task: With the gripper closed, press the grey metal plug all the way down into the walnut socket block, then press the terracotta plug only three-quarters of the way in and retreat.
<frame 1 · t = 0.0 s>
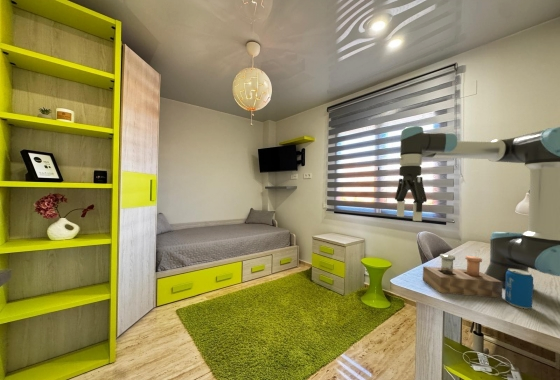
hand: (408, 218, 86), 28 cm above the table, fingers open, 13 cm apart
beverage can: (518, 305, 76), on the table
grey plug: (447, 264, 89), point 9 cm above the table, slide at 0.0 cm
socket block: (459, 288, 88), on the table
terracotta plug: (473, 266, 88), point 9 cm above the table, slide at 0.0 cm
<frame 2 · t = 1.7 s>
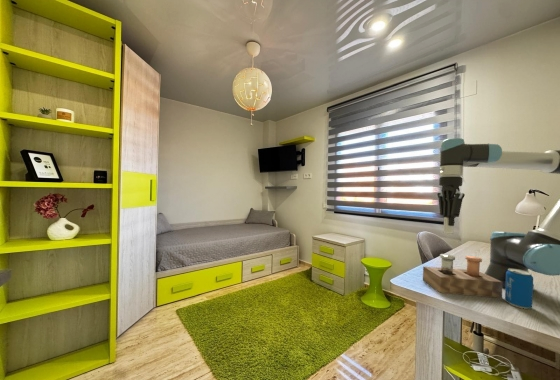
hand: (448, 233, 89), 22 cm above the table, fingers closed
nothing on the table moved.
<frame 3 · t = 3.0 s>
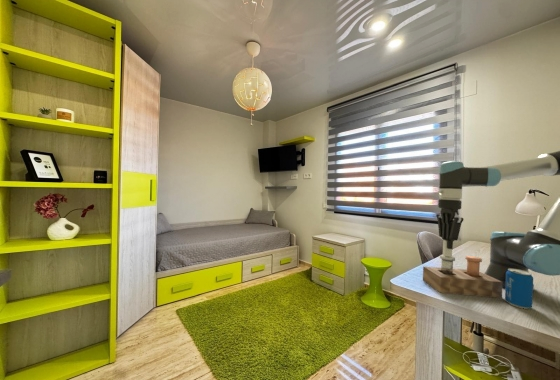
hand: (447, 255, 89), 13 cm above the table, fingers closed
grey plug: (447, 265, 89), point 9 cm above the table, slide at 0.3 cm, touching gripper
everything else where it was.
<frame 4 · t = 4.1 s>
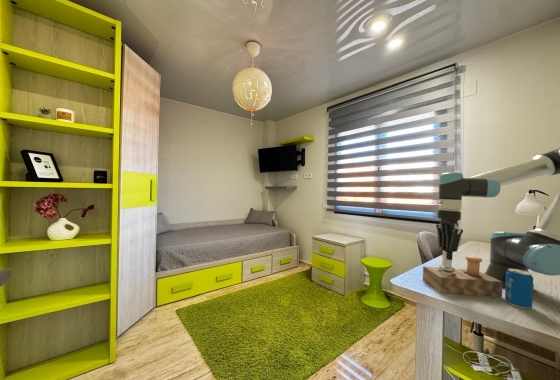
hand: (446, 266, 89), 8 cm above the table, fingers closed
grey plug: (446, 276, 89), point 5 cm above the table, slide at 4.8 cm, touching gripper
everything else where it was.
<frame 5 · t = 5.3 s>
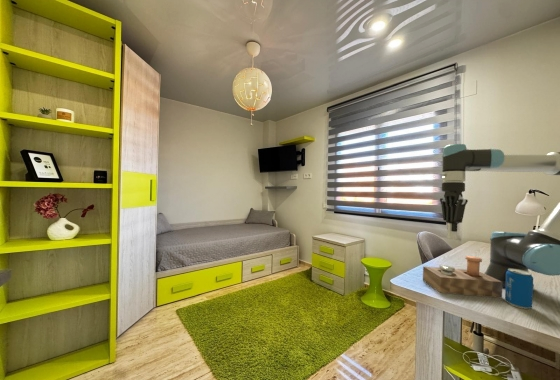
hand: (451, 238, 89), 20 cm above the table, fingers closed
grey plug: (446, 276, 89), point 5 cm above the table, slide at 4.8 cm
everything else where it was.
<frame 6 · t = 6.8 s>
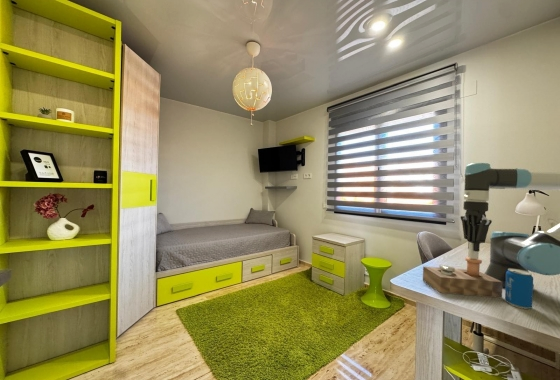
hand: (473, 258, 88), 13 cm above the table, fingers closed
terracotta plug: (473, 267, 88), point 9 cm above the table, slide at 0.6 cm, touching gripper
everything else where it was.
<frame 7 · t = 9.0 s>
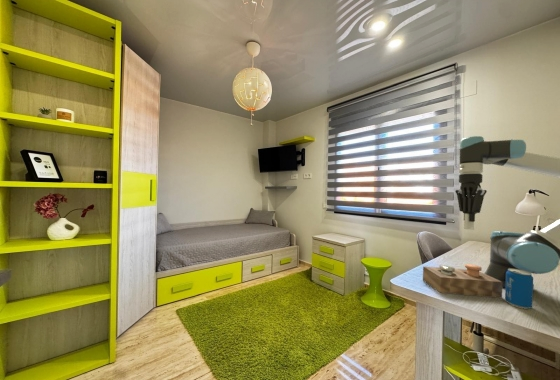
hand: (468, 229, 91), 24 cm above the table, fingers closed
terracotta plug: (472, 274, 88), point 6 cm above the table, slide at 3.5 cm
everything else where it was.
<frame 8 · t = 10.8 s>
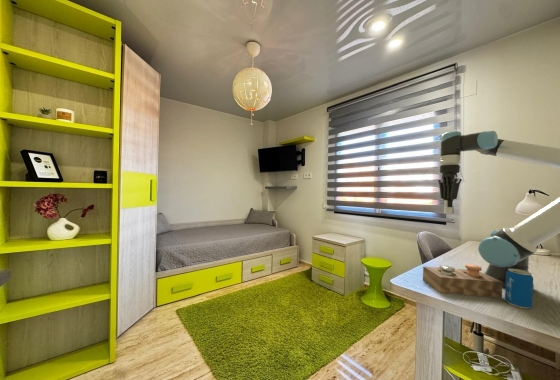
hand: (447, 213, 103), 29 cm above the table, fingers closed
nothing on the table moved.
at the end: grey plug slide at 4.8 cm; terracotta plug slide at 3.5 cm; terracotta plug touching nothing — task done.
